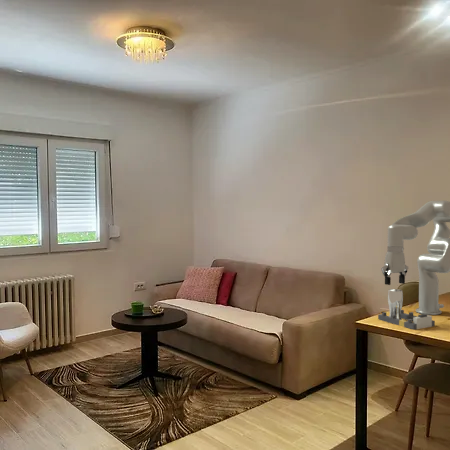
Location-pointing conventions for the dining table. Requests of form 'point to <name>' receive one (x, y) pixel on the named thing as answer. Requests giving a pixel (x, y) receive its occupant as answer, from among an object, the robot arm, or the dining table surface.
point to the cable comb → (409, 320)
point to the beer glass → (395, 302)
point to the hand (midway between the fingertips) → (394, 284)
